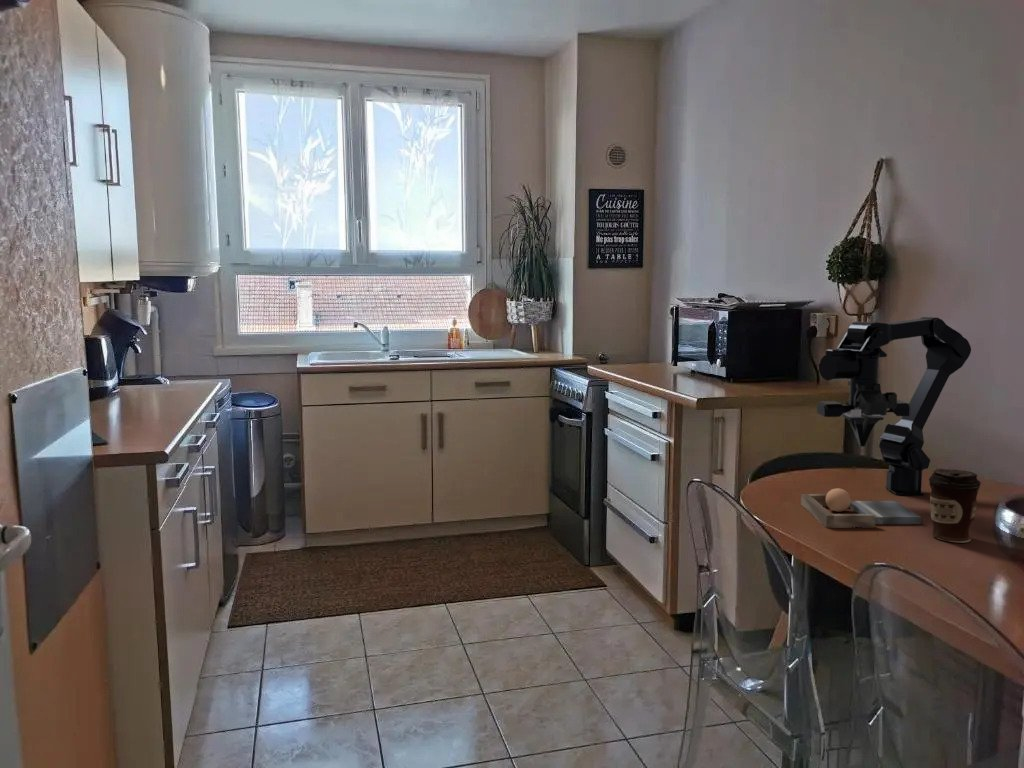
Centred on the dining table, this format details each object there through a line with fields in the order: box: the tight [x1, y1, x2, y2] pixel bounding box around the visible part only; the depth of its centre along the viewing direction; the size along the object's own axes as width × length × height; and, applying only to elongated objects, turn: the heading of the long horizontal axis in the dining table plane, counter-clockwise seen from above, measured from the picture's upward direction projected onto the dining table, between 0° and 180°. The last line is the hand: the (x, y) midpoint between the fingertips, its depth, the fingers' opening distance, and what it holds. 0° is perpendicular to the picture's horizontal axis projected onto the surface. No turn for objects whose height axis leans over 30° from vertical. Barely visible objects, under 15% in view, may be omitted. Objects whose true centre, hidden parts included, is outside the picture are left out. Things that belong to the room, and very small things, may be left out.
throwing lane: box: [800, 493, 922, 529], centre depth 163 cm, size 20×16×2 cm
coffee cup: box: [928, 468, 982, 544], centre depth 147 cm, size 9×8×13 cm
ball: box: [826, 487, 852, 513], centre depth 166 cm, size 5×5×5 cm
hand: (861, 446), depth 175 cm, fingers closed
